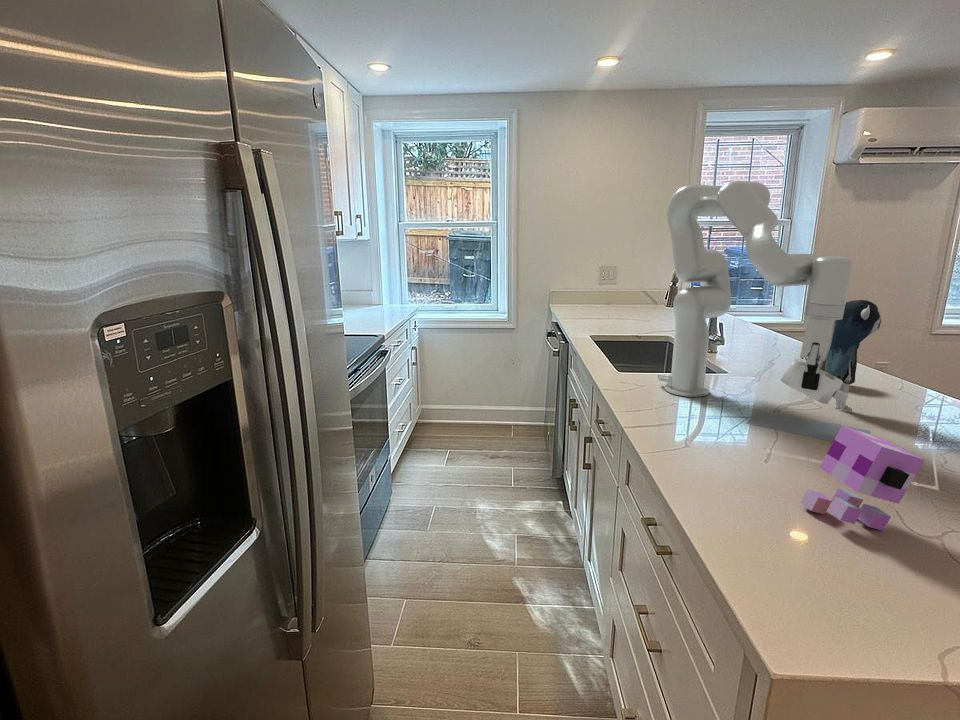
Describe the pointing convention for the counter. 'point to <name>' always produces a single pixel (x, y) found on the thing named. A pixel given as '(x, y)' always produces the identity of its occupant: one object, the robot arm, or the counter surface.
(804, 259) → the robot arm
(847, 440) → the toy
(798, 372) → the plug
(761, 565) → the counter surface
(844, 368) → the toy
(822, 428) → the mat
